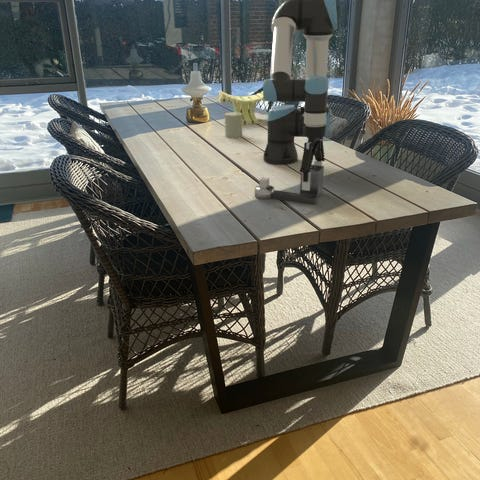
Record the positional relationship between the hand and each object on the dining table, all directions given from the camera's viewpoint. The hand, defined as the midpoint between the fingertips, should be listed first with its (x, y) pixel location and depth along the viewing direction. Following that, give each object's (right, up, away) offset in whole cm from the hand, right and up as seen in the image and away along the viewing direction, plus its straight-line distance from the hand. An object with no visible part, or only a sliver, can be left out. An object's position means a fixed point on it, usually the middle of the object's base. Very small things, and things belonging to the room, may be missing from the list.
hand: (311, 184), depth 175 cm
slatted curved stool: (-22, +51, +117) cm, 129 cm away
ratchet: (-10, -5, -2) cm, 11 cm away
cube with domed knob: (0, -4, +2) cm, 4 cm away
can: (-29, +35, +84) cm, 96 cm away
